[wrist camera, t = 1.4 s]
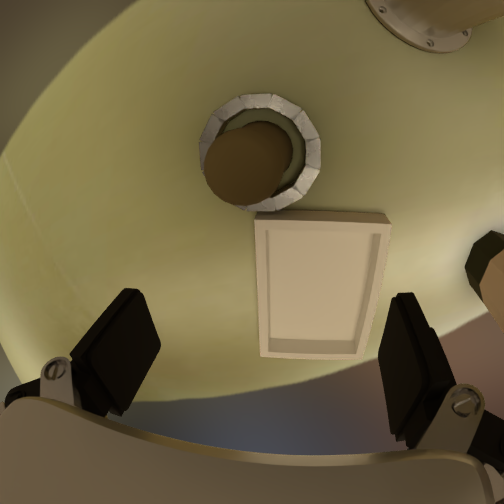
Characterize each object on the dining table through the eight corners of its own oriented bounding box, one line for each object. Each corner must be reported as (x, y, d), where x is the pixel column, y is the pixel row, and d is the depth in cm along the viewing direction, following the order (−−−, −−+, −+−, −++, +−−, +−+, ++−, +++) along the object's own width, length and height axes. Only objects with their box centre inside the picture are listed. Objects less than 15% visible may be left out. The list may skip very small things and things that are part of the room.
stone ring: (202, 100, 25) (195, 99, 23) (318, 95, 23) (319, 93, 21) (211, 205, 30) (205, 211, 28) (318, 206, 28) (319, 212, 26)
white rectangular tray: (258, 209, 29) (254, 219, 26) (383, 213, 27) (392, 224, 24) (263, 340, 37) (260, 356, 34) (359, 343, 35) (362, 359, 32)
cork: (299, 128, 25) (300, 134, 15) (284, 187, 27) (275, 229, 18) (237, 115, 25) (198, 114, 15) (225, 173, 28) (184, 206, 18)
